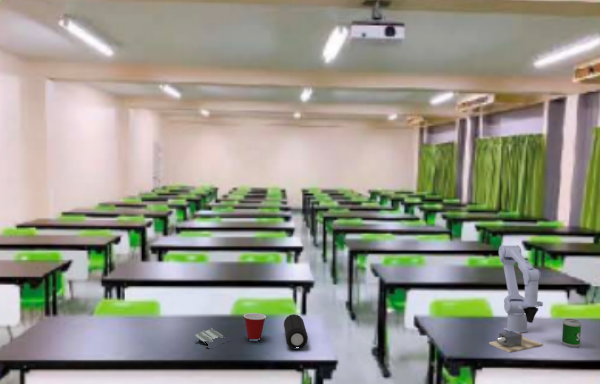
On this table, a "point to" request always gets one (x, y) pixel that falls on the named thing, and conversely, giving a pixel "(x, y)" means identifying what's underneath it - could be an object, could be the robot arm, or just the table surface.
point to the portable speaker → (295, 331)
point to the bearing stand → (514, 342)
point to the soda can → (571, 333)
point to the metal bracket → (208, 335)
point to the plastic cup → (254, 324)
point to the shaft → (502, 339)
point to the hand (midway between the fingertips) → (529, 322)
